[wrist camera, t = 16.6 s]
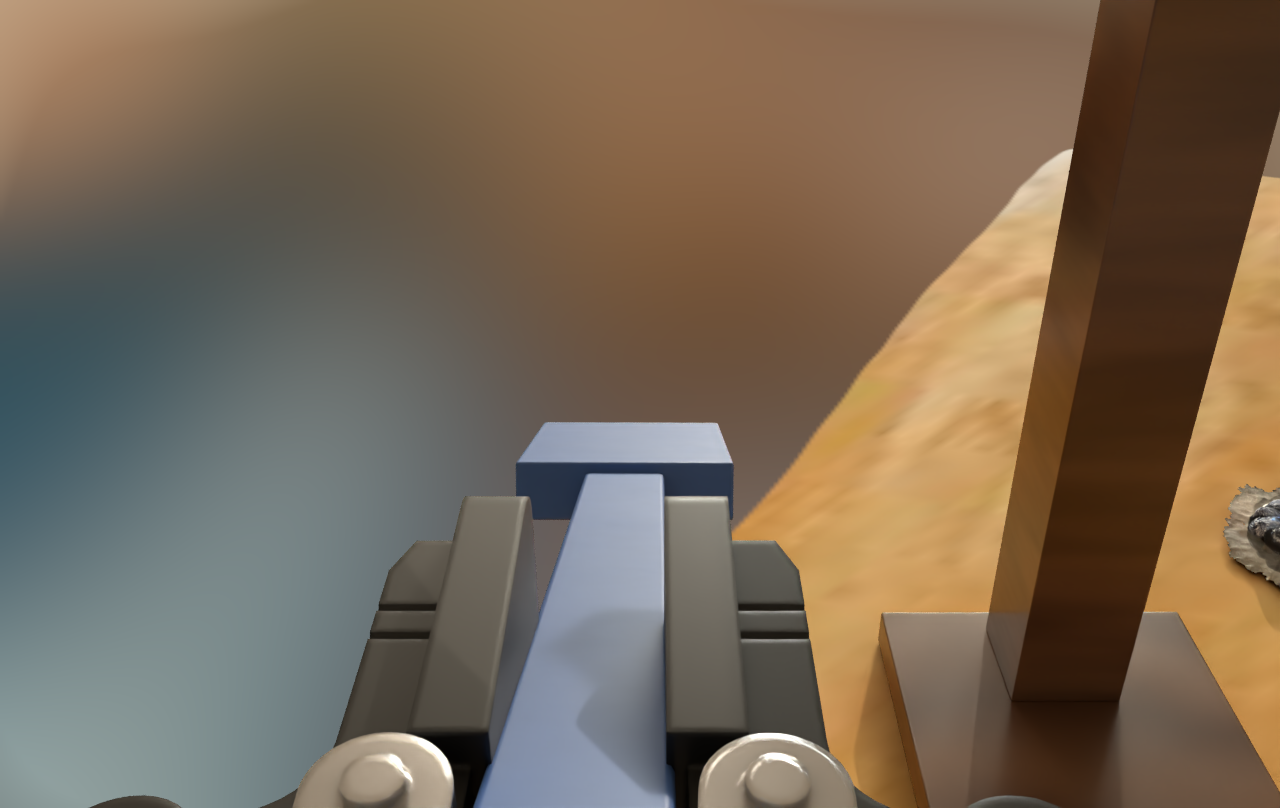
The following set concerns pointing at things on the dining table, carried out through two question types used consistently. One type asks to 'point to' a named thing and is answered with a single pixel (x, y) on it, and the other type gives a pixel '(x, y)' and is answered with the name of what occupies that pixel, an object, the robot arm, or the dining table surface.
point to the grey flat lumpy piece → (1256, 531)
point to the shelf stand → (1110, 450)
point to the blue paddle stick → (601, 616)
